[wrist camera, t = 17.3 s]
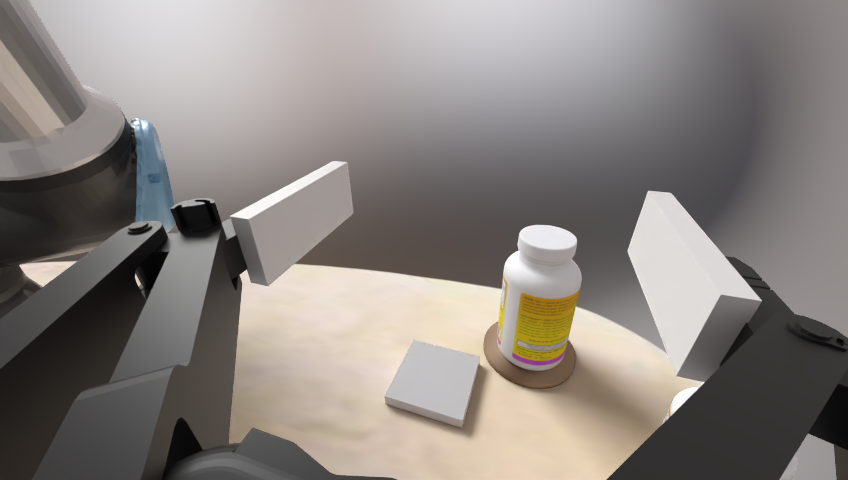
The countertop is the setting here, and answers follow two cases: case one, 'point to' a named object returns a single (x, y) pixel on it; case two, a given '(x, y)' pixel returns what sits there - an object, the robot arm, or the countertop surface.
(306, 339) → the countertop surface
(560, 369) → the coaster
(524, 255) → the supplement bottle
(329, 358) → the countertop surface
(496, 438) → the countertop surface
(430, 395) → the tile
